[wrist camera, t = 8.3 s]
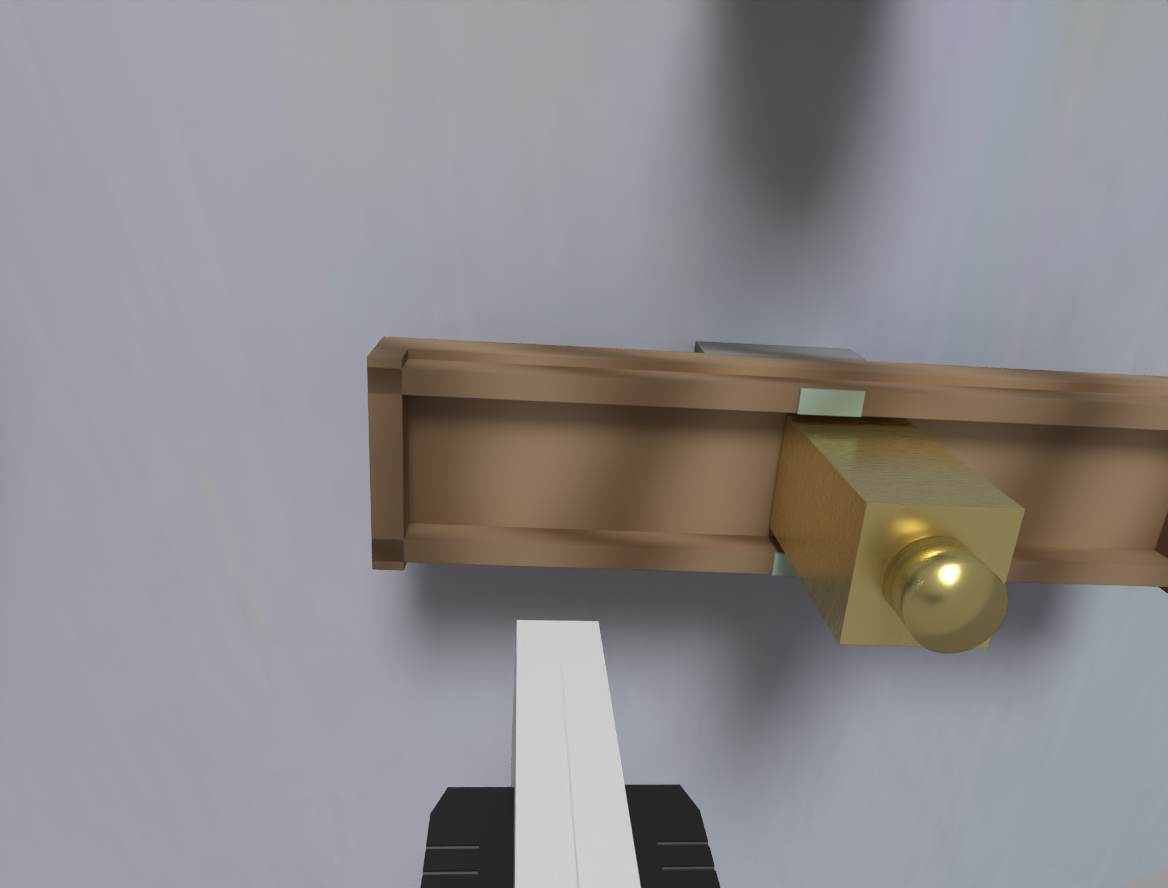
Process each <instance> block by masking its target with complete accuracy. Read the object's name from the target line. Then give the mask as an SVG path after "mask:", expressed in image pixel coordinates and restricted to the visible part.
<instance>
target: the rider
mask: <svg viewBox="0 0 1168 888" xmlns="http://www.w3.org/2000/svg"><path fill="white" fill-rule="evenodd" d="M1024 512H1025V509H1024V508H1023V507H1021V506H1020V505H1019V504H1017V503H1016V502H1015V501H1013V500H1012V499H1011V498H1010V497H1008V496H1007V495H1006V494H1004V493H1003V492H1002V491H1000V490H999V489H998V488H996V487H995V486H994V485H992V484H991V483H990V482H988V481H987V480H986V479H984V478H983V477H982V476H980V475H979V474H978V473H976V472H975V471H974V470H973V469H971V468H970V467H969V466H967V465H966V464H965V463H963V462H962V461H961V460H959V459H958V458H957V457H955V456H954V455H953V454H951V453H950V452H949V451H947V450H946V449H945V448H943V447H942V446H941V445H940V444H938V443H937V442H936V441H934V440H933V439H932V438H930V437H929V436H928V435H926V434H925V433H924V432H922V431H921V430H920V429H918V428H917V427H916V426H914V425H913V424H912V423H910V422H909V421H908V420H898V419H876V418H854V417H833V416H811V415H789V414H787V415H786V421H785V428H784V434H783V441H782V447H781V454H780V460H779V467H778V473H777V480H776V486H775V493H774V500H773V506H772V513H771V519H770V526H769V527H770V529H771V530H772V532H773V534H774V536H775V537H776V539H777V541H778V542H779V544H780V546H781V547H782V549H783V551H784V552H785V554H786V556H787V557H788V559H789V561H790V562H791V564H792V566H793V567H794V569H795V571H796V572H797V574H798V576H799V577H800V579H801V581H802V582H803V584H804V586H805V588H806V589H807V591H808V593H809V594H810V596H811V598H812V599H813V601H814V603H815V604H816V606H817V608H818V609H819V611H820V613H821V614H822V616H823V618H824V619H825V621H826V623H827V624H828V626H829V628H830V629H831V631H832V633H833V634H834V636H835V638H836V640H837V641H838V643H839V644H846V645H883V646H920V647H925V648H927V649H929V650H932V651H935V652H939V653H959V652H963V651H967V650H970V649H972V648H988V647H989V643H990V639H991V636H992V635H993V634H994V633H995V632H996V631H997V629H998V628H999V627H1000V625H1001V624H1002V622H1003V620H1004V618H1005V615H1006V612H1007V608H1008V593H1007V590H1006V587H1005V583H1006V579H1007V575H1008V572H1009V568H1010V564H1011V560H1012V557H1013V553H1014V549H1015V545H1016V542H1017V538H1018V534H1019V530H1020V527H1021V523H1022V519H1023V515H1024Z"/></svg>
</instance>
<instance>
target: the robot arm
mask: <svg viewBox="0 0 1168 888" xmlns="http://www.w3.org/2000/svg"><path fill="white" fill-rule="evenodd" d="M421 888H720V885H719V881H718V877H717V873H716V871H715V870H714V862H713V858H712V854H711V851H710V847H709V846H708V839H707V836H706V832H705V828H704V824H703V820H702V817H701V813H700V810H699V809H698V807H697V806H696V805H695V804H694V802H693V801H692V800H691V798H690V797H689V796H688V795H687V793H686V792H685V791H684V789H683V788H682V787H681V786H680V785H624V779H623V772H622V766H621V760H620V753H619V747H618V741H617V735H616V728H615V722H614V716H613V710H612V703H611V697H610V691H609V685H608V678H607V672H606V666H605V659H604V653H603V647H602V641H601V634H600V628H599V622H598V621H551V620H517V628H516V652H515V676H514V700H513V724H512V762H511V787H448V788H447V789H446V791H445V793H444V794H443V796H442V797H441V799H440V800H439V802H438V803H437V805H436V806H435V808H434V809H433V811H432V812H431V814H430V821H429V828H428V836H427V844H426V851H425V859H424V867H423V877H422V882H421Z"/></svg>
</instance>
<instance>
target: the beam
mask: <svg viewBox="0 0 1168 888" xmlns="http://www.w3.org/2000/svg"><path fill="white" fill-rule="evenodd" d="M367 373H368V412H369V451H370V490H371V530H372V569H377V570H404V569H405V566H406V562H418V563H448V564H479V565H509V566H540V567H571V568H601V569H632V570H663V571H693V572H724V573H754V574H771V575H772V576H793V577H799V576H798V574H797V572H796V571H795V569H794V567H793V566H792V564H791V562H790V561H789V559H788V557H787V556H786V554H785V552H784V551H783V549H782V547H781V546H780V544H779V542H778V541H777V539H776V537H775V536H774V534H773V532H772V530H771V529H770V527H769V526H770V519H771V513H772V506H773V500H774V493H775V486H776V480H777V473H778V467H779V460H780V454H781V447H782V441H783V434H784V428H785V421H786V415H787V414H789V415H811V416H833V417H854V418H876V419H898V420H908V421H909V422H910V423H912V424H913V425H914V426H916V427H917V428H918V429H920V430H921V431H922V432H924V433H925V434H926V435H928V436H929V437H930V438H932V439H933V440H934V441H936V442H937V443H938V444H940V445H941V446H942V447H943V448H945V449H946V450H947V451H949V452H950V453H951V454H953V455H954V456H955V457H957V458H958V459H959V460H961V461H962V462H963V463H965V464H966V465H967V466H969V467H970V468H971V469H973V470H974V471H975V472H976V473H978V474H979V475H980V476H982V477H983V478H984V479H986V480H987V481H988V482H990V483H991V484H992V485H994V486H995V487H996V488H998V489H999V490H1000V491H1002V492H1003V493H1004V494H1006V495H1007V496H1008V497H1010V498H1011V499H1012V500H1013V501H1015V502H1016V503H1017V504H1019V505H1020V506H1021V507H1023V508H1024V509H1025V512H1024V515H1023V519H1022V523H1021V527H1020V530H1019V534H1018V538H1017V542H1016V545H1015V549H1014V553H1013V557H1012V560H1011V564H1010V568H1009V572H1008V575H1007V579H1006V582H1030V583H1061V584H1091V585H1122V586H1153V587H1159V588H1161V589H1162V590H1164V591H1165V592H1166V593H1168V377H1164V376H1145V375H1125V374H1105V373H1086V372H1066V371H1046V370H1027V369H1007V368H988V367H968V366H948V365H929V364H909V363H889V362H870V361H867V360H865V359H864V358H862V357H861V356H859V355H858V354H856V353H855V352H853V351H852V350H850V349H833V348H813V347H794V346H775V345H755V344H736V343H717V342H698V341H696V345H695V353H693V352H674V351H654V350H634V349H615V348H595V347H575V346H556V345H536V344H517V343H497V342H477V341H458V340H438V339H418V338H399V337H383V338H382V339H381V340H380V342H379V343H378V344H377V345H376V347H375V348H374V349H373V350H372V352H371V353H370V354H369V355H368V357H367Z"/></svg>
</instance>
